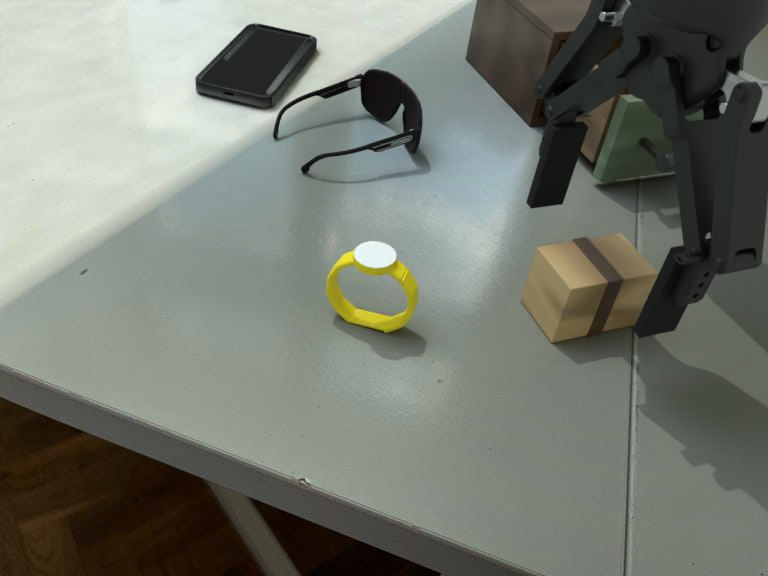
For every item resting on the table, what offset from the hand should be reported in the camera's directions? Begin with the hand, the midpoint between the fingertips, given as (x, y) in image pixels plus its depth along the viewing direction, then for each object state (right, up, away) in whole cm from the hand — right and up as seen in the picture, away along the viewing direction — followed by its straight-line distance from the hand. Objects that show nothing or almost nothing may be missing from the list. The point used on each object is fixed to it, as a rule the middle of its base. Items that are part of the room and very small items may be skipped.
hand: (594, 261), depth 53 cm
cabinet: (+3, +20, +30) cm, 36 cm away
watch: (-15, -4, 0) cm, 16 cm away
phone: (-27, +20, +26) cm, 42 cm away
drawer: (+8, +11, +20) cm, 25 cm away
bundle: (0, -4, +3) cm, 5 cm away
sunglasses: (-18, +11, +17) cm, 27 cm away
